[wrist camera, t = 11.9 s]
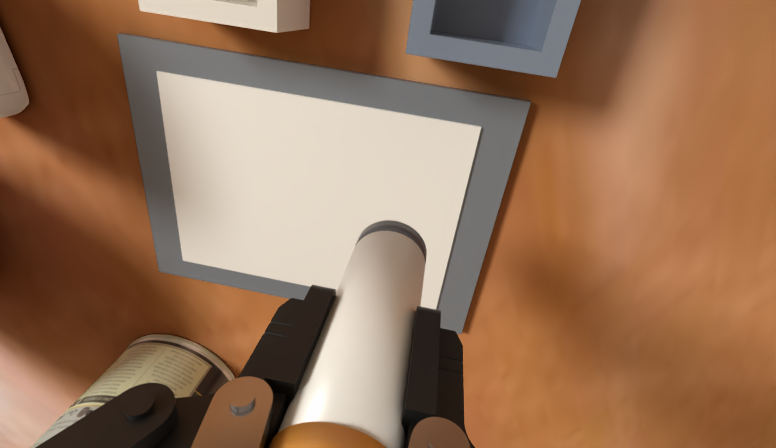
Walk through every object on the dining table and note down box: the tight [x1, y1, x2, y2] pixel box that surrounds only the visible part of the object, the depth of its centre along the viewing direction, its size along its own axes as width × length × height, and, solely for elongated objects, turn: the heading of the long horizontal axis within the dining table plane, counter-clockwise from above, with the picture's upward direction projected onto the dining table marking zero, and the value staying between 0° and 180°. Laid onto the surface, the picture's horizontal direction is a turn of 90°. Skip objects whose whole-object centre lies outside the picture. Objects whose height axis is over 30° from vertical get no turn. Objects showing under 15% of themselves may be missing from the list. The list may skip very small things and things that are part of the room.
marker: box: [269, 220, 427, 448], centre depth 12 cm, size 3×3×10 cm
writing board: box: [117, 33, 531, 334], centre depth 24 cm, size 15×21×1 cm
